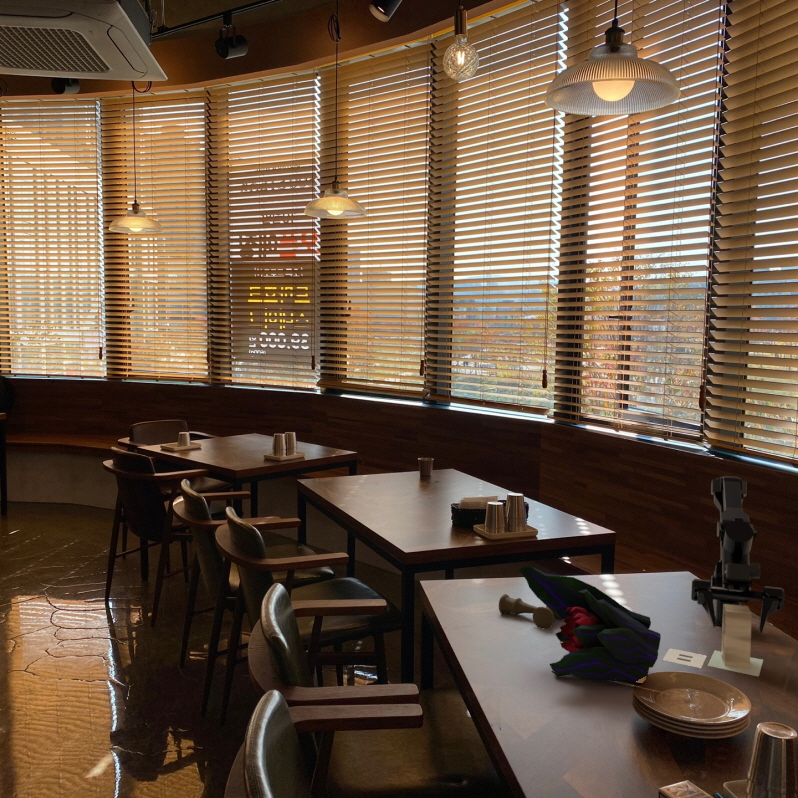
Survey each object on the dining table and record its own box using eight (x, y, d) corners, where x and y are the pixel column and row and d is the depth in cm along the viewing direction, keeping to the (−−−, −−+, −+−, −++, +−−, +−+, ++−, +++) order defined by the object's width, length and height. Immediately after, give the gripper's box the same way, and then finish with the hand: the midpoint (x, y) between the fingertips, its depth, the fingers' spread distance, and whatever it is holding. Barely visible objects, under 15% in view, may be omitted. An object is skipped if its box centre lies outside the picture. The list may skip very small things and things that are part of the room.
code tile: (669, 649, 171) (669, 648, 171) (707, 657, 167) (707, 655, 167) (662, 661, 164) (662, 660, 164) (701, 669, 160) (701, 668, 160)
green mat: (714, 652, 170) (714, 650, 170) (763, 661, 165) (763, 659, 165) (707, 667, 161) (707, 665, 161) (758, 677, 156) (758, 676, 156)
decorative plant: (635, 737, 150) (490, 687, 153) (632, 644, 172) (506, 602, 176) (673, 667, 139) (517, 615, 143) (665, 577, 162) (530, 535, 166)
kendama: (510, 609, 199) (581, 623, 188) (493, 620, 192) (566, 635, 180) (510, 587, 199) (581, 600, 187) (492, 597, 191) (565, 611, 180)
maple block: (721, 656, 166) (723, 603, 166) (745, 659, 165) (747, 605, 164) (724, 665, 161) (726, 610, 161) (749, 668, 160) (751, 613, 159)
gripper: (693, 543, 169) (692, 606, 159) (785, 551, 162) (790, 618, 152) (691, 568, 177) (690, 630, 167) (779, 577, 170) (784, 642, 160)
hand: (737, 629), depth 161 cm, fingers open, 9 cm apart
